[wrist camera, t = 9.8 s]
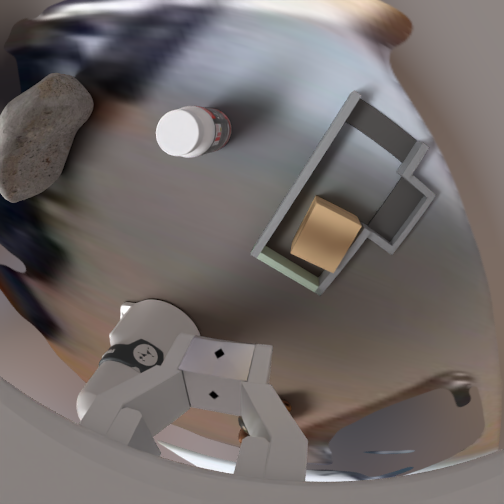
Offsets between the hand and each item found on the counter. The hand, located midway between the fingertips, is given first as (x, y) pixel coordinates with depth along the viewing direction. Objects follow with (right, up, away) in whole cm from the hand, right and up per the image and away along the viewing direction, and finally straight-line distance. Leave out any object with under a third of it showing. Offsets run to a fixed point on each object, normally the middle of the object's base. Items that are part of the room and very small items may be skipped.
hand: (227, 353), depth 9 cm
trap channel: (+14, +9, +26) cm, 30 cm away
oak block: (+10, +6, +28) cm, 30 cm away
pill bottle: (-4, +19, +25) cm, 32 cm away
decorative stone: (-30, +24, +28) cm, 47 cm away
